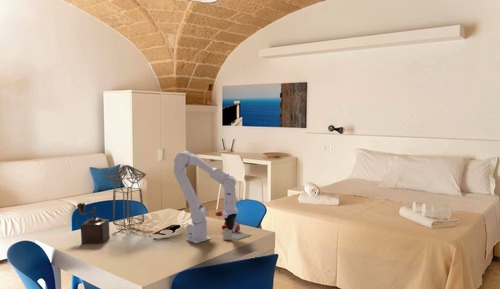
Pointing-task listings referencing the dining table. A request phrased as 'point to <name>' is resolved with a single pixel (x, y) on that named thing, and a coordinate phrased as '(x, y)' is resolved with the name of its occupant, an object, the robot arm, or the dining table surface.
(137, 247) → the dining table surface
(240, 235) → the mat
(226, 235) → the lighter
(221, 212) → the red flower sprig
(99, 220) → the coffee grinder
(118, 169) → the geometric lantern
